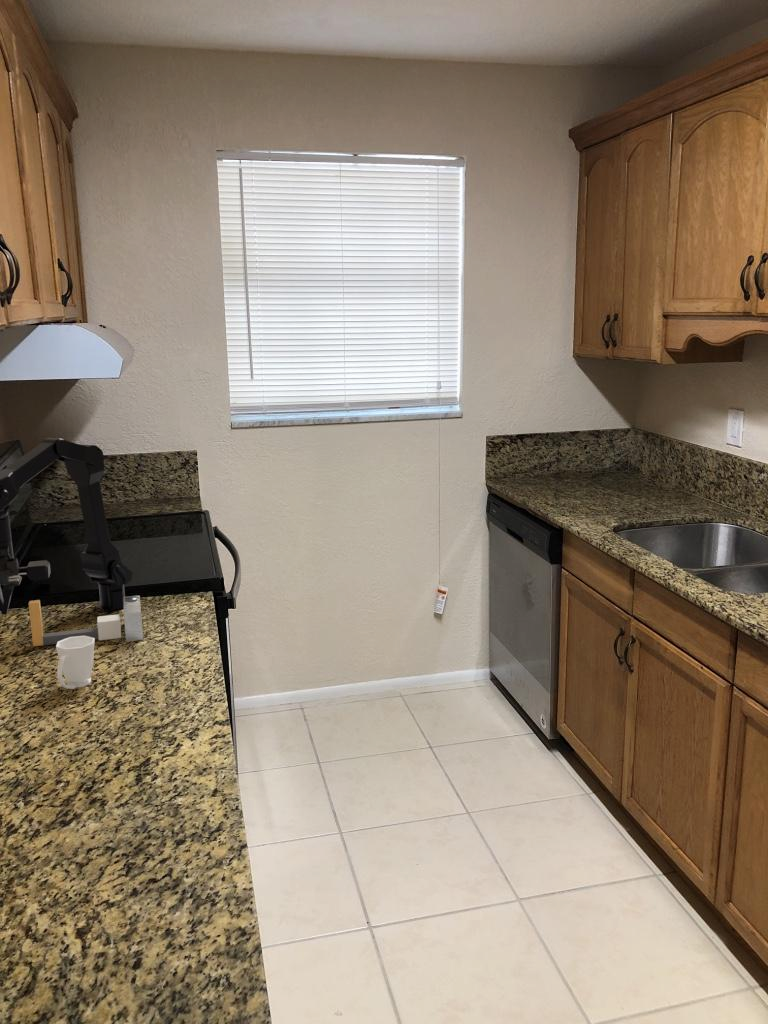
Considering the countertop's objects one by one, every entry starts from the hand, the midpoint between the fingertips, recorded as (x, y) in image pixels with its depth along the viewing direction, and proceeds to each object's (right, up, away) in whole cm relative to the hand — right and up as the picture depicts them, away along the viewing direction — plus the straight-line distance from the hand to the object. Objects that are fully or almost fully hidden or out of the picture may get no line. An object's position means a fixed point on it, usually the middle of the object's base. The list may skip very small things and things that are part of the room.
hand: (4, 614), depth 170 cm
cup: (+21, -11, -18) cm, 30 cm away
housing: (+23, -5, +10) cm, 26 cm away
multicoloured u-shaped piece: (+13, -6, +5) cm, 15 cm away
